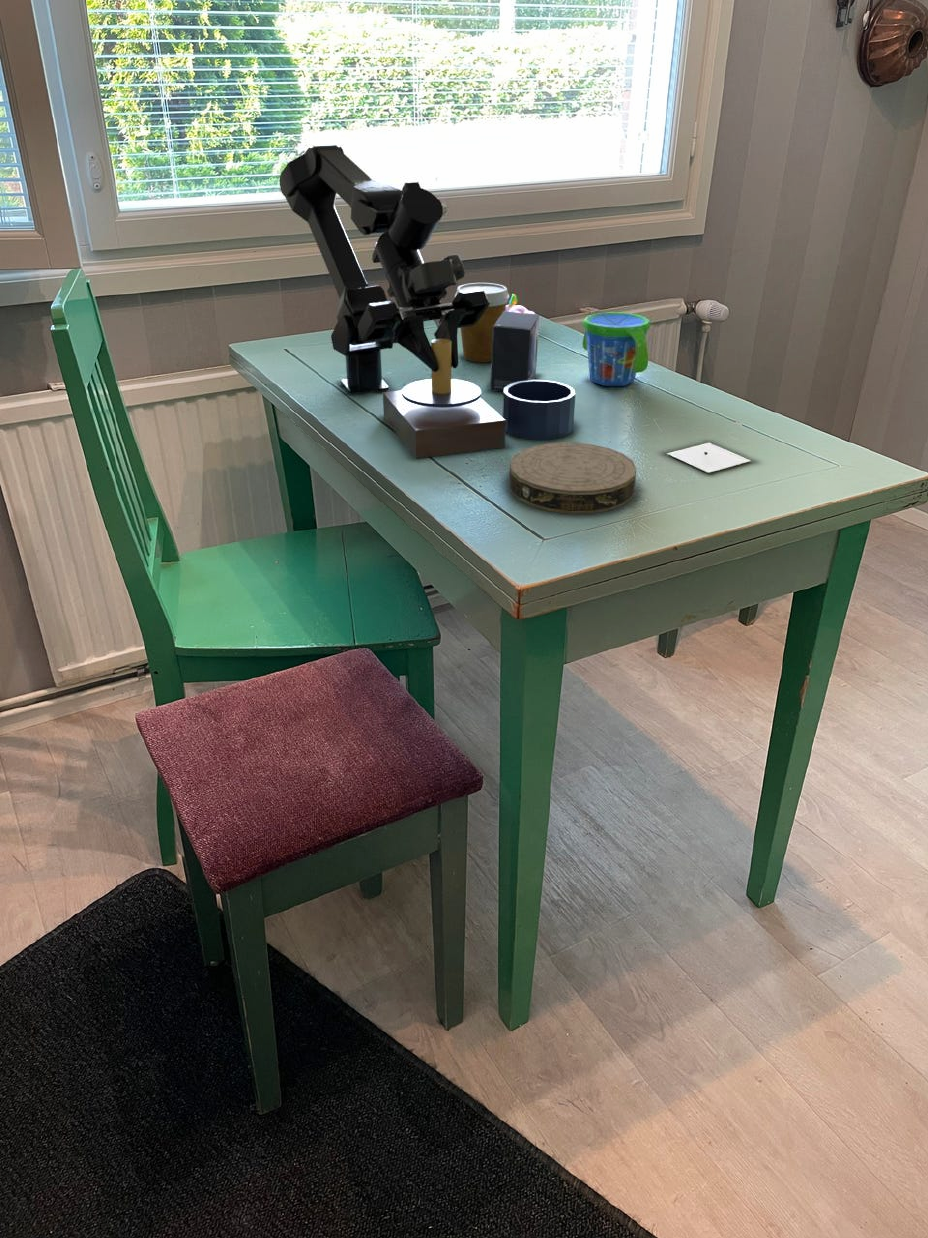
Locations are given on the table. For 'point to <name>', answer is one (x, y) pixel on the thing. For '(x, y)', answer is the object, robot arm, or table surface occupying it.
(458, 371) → the table surface
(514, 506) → the table surface
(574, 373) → the table surface
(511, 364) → the small box
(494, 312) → the disposable coffee cup
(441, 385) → the lid
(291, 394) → the table surface
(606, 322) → the snack cup
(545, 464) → the brown flat disc
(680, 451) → the coaster
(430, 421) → the block
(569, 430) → the tin
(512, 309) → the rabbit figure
